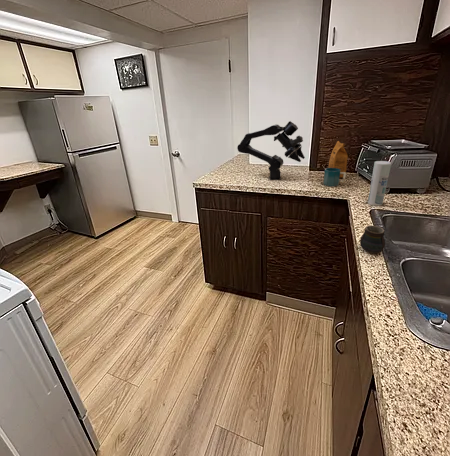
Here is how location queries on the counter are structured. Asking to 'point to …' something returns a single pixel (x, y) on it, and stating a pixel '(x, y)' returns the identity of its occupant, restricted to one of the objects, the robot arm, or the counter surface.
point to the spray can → (379, 182)
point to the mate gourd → (373, 239)
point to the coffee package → (338, 158)
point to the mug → (333, 176)
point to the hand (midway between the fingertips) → (302, 159)
